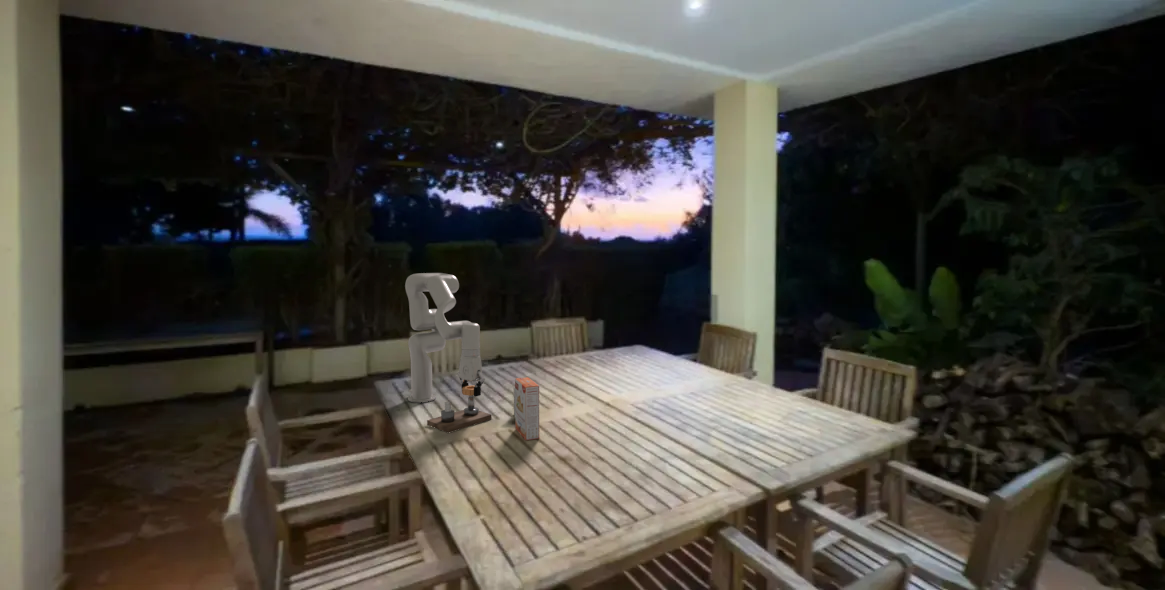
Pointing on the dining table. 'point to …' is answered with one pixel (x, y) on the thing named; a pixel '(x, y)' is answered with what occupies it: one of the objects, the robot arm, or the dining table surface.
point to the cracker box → (527, 408)
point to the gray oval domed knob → (447, 414)
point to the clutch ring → (468, 390)
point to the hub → (471, 407)
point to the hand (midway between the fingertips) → (471, 393)
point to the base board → (459, 421)
